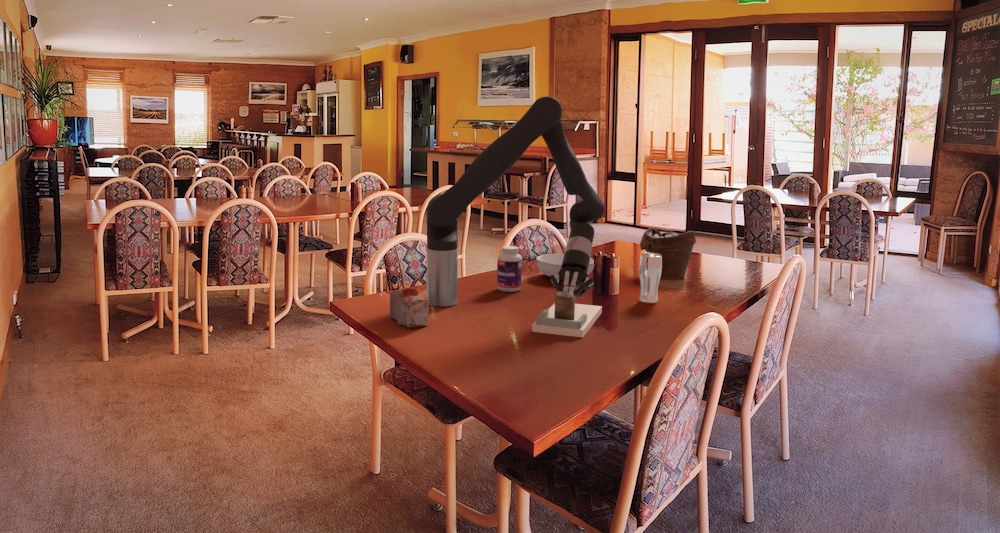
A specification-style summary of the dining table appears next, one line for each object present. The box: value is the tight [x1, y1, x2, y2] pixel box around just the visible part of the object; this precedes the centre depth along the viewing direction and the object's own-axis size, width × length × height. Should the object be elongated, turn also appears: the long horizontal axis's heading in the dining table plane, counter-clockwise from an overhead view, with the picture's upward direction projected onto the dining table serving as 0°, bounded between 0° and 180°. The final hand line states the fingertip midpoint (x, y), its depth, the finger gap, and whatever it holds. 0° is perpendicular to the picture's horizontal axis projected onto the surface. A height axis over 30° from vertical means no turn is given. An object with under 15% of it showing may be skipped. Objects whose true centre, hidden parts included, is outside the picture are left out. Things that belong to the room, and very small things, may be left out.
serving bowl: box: [536, 253, 595, 281], centre depth 261 cm, size 21×21×7 cm
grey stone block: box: [389, 287, 430, 329], centre depth 202 cm, size 14×8×10 cm, turn 34°
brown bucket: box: [639, 227, 697, 280], centre depth 266 cm, size 18×20×18 cm
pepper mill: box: [554, 291, 576, 321], centre depth 198 cm, size 5×5×8 cm
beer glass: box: [638, 252, 662, 304], centre depth 229 cm, size 7×7×15 cm
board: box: [531, 302, 603, 338], centre depth 206 cm, size 26×14×4 cm, turn 161°
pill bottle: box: [496, 245, 523, 293], centre depth 241 cm, size 8×8×14 cm
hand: (565, 307), depth 201 cm, fingers closed
